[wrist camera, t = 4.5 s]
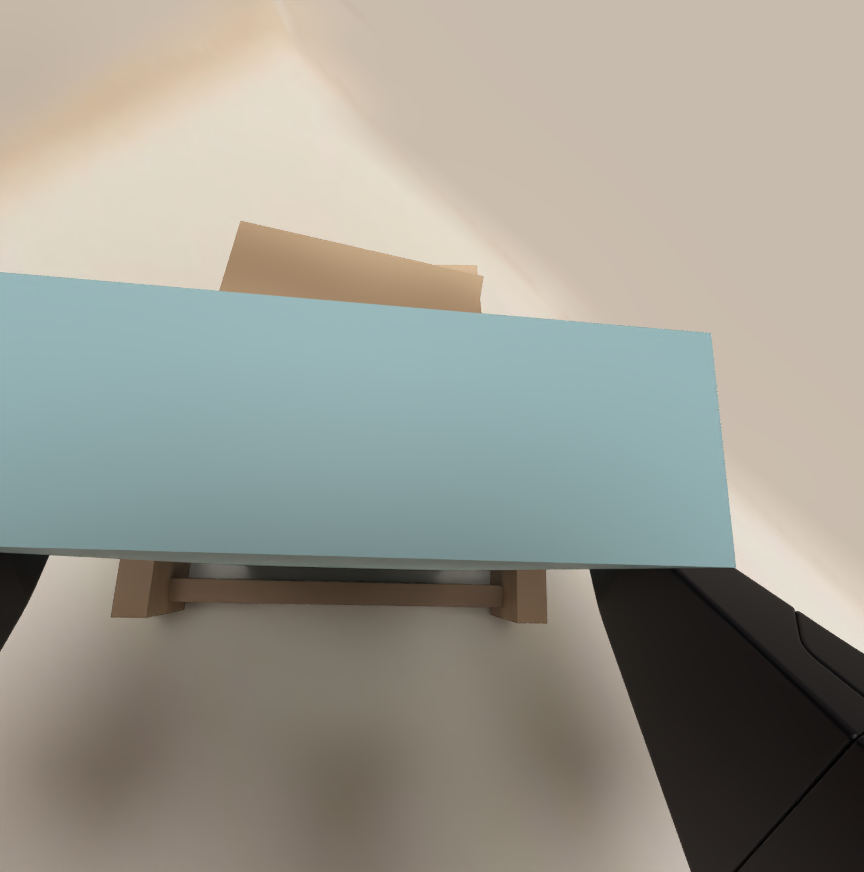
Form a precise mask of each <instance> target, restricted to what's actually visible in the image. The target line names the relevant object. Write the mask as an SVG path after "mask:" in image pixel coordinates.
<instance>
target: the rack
mask: <svg viewBox="0 0 864 872" xmlns="http://www.w3.org/2000/svg"><path fill="white" fill-rule="evenodd" d="M189 565H190V562H171V561H152V560H134V559H120V562H119V569H118V575H117V581H116V588H115V594H114V600H113V607H112V613H111V617H120V618H148V617H152V616H157V615H161V614H166V613H170V612H175V611H179V610H184V604H185V602H221V603H278V604H334V605H390V606H446V607H490V614H491V615H494V616H497V617H500V618H503V619H506V620H509V621H512V622H516V623H543V624H547V599H546V570H490V585H478V584H435V583H391V582H347V581H304V580H260V579H217V578H188V573H189Z"/></svg>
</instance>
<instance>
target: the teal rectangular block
mask: <svg viewBox="0 0 864 872" xmlns="http://www.w3.org/2000/svg"><path fill="white" fill-rule="evenodd" d="M712 349H713V348H712V339H711V333H704V332H692V331H680V330H669V329H656V328H646V327H634V326H622V325H611V324H599V323H587V322H576V321H564V320H552V319H541V318H529V317H517V316H506V315H494V314H482V313H471V312H459V311H447V310H436V309H424V308H412V307H401V306H389V305H377V304H366V303H354V302H342V301H331V300H319V299H307V298H296V297H284V296H272V295H261V294H249V293H237V292H226V291H214V290H202V289H191V288H179V287H167V286H155V285H144V284H132V283H120V282H109V281H97V280H85V279H74V278H62V277H50V276H39V275H27V274H15V273H4V272H0V552H3V553H22V554H40V555H59V556H78V557H96V558H115V559H134V560H152V561H171V562H190V563H208V564H227V565H246V566H285V567H324V568H362V569H401V570H439V571H445V570H547V569H648V568H736V563H735V554H734V544H733V535H732V526H731V516H730V507H729V498H728V488H727V479H726V470H725V460H724V451H723V442H722V433H721V424H720V414H719V405H718V395H717V386H716V376H715V367H714V358H713V350H712Z"/></svg>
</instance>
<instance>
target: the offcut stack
mask: <svg viewBox="0 0 864 872" xmlns="http://www.w3.org/2000/svg"><path fill="white" fill-rule="evenodd" d="M483 277H484V276H479V275H478V274H477V265H431V264H427V263H423V262H418V261H414V260H410V259H405V258H401V257H396V256H392V255H388V254H383V253H379V252H375V251H370V250H366V249H362V248H357V247H353V246H348V245H344V244H340V243H335V242H331V241H327V240H322V239H318V238H313V237H309V236H305V235H300V234H296V233H292V232H287V231H283V230H279V229H274V228H270V227H265V226H261V225H257V224H252V223H248V222H244V221H240V225H239V228H238V231H237V234H236V238H235V241H234V244H233V248H232V251H231V254H230V257H229V261H228V264H227V267H226V271H225V274H224V277H223V280H222V284H221V287H220V290H219V291H226V292H237V293H249V294H261V295H272V296H284V297H296V298H307V299H319V300H331V301H342V302H354V303H366V304H377V305H389V306H401V307H412V308H424V309H436V310H447V311H459V312H471V313H481V304H480V295H481V289H482V283H483Z"/></svg>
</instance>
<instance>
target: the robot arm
mask: <svg viewBox="0 0 864 872" xmlns="http://www.w3.org/2000/svg"><path fill="white" fill-rule="evenodd" d="M48 557H49V555H40V554H22V553H3V552H0V651H1V649H2V648H3V646H4V644H5V642H6V641H7V639H8V637H9V635H10V634H11V632H12V630H13V629H14V627H15V625H16V623H17V622H18V620H19V618H20V616H21V615H22V613H23V611H24V609H25V607H26V606H27V604H28V602H29V600H30V598H31V596H32V593H33V591H34V589H35V587H36V585H37V582H38V580H39V578H40V576H41V573H42V571H43V569H44V566H45V564H46V562H47V560H48ZM590 574H591V578H592V583H593V587H594V591H595V596H596V600H597V604H598V608H599V611H600V615H601V618H602V621H603V624H604V627H605V630H606V632H607V635H608V638H609V641H610V644H611V647H612V649H613V652H614V655H615V658H616V661H617V664H618V666H619V669H620V672H621V675H622V678H623V681H624V683H625V686H626V689H627V692H628V695H629V698H630V700H631V703H632V706H633V709H634V712H635V715H636V717H637V720H638V723H639V726H640V729H641V732H642V734H643V737H644V740H645V743H646V746H647V749H648V751H649V754H650V757H651V760H652V763H653V766H654V768H655V771H656V774H657V777H658V780H659V783H660V786H661V788H662V791H663V794H664V797H665V800H666V803H667V805H668V808H669V811H670V814H671V817H672V820H673V822H674V825H675V828H676V831H677V834H678V837H679V839H680V842H681V845H682V848H683V851H684V854H685V856H686V859H687V862H688V865H689V868H690V871H691V872H864V654H863V653H862V652H860V651H859V650H857V649H855V648H854V647H852V646H851V645H849V644H848V643H846V642H845V641H843V640H842V639H840V638H839V637H837V636H835V635H834V634H832V633H831V632H829V631H828V630H826V629H825V628H823V627H822V626H820V625H819V624H817V623H816V622H814V621H813V620H811V619H810V618H808V617H807V616H805V615H804V614H803V613H801V612H799V611H796V612H795V610H794V608H793V607H792V606H790V605H789V604H787V603H786V602H784V601H783V600H782V599H780V598H779V597H777V596H776V595H774V594H773V593H771V592H770V591H768V590H767V589H765V588H764V587H762V586H761V585H759V584H758V583H756V582H755V581H753V580H752V579H750V578H749V577H747V576H746V575H744V574H743V573H741V572H740V571H738V570H737V569H735V568H648V569H590Z"/></svg>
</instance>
